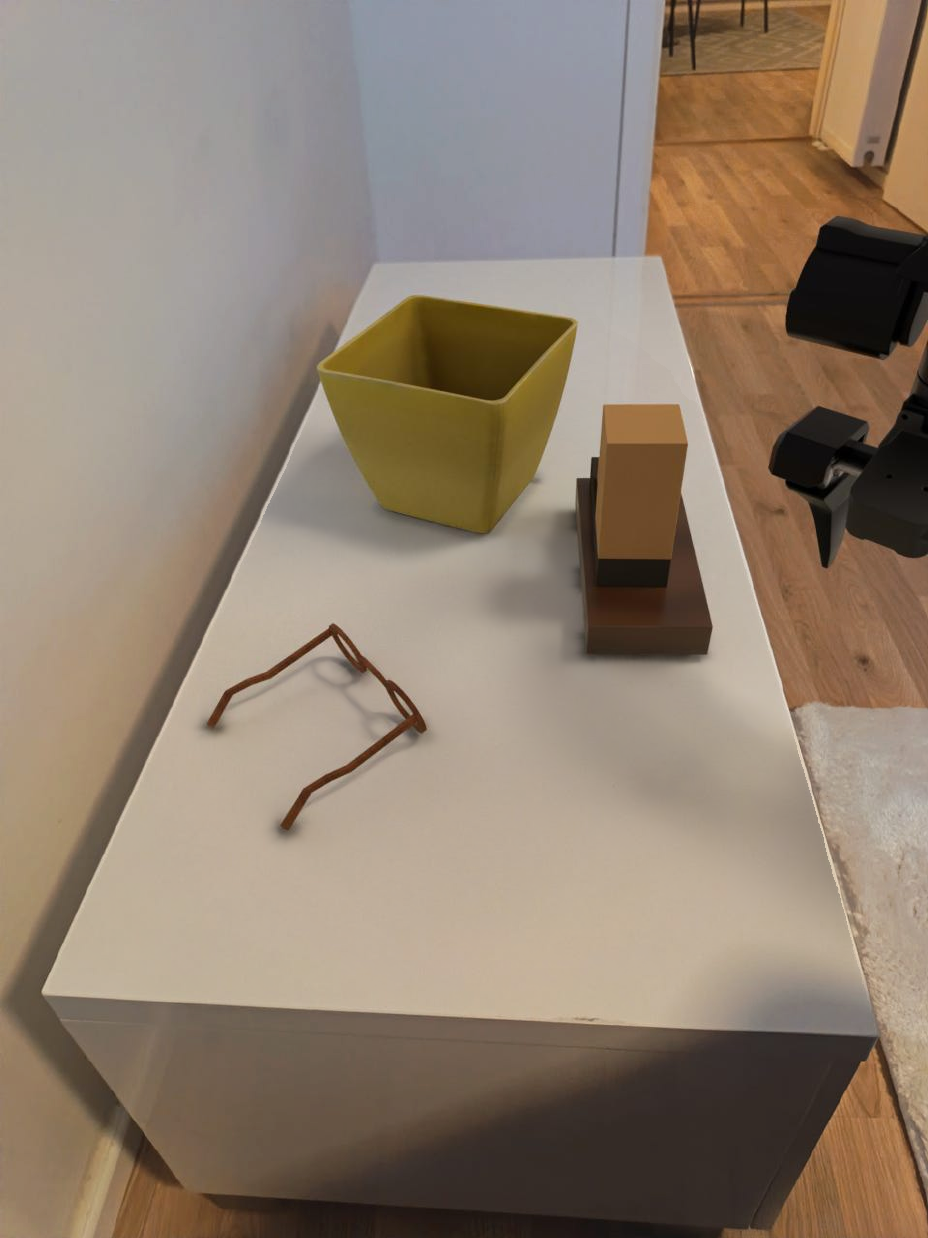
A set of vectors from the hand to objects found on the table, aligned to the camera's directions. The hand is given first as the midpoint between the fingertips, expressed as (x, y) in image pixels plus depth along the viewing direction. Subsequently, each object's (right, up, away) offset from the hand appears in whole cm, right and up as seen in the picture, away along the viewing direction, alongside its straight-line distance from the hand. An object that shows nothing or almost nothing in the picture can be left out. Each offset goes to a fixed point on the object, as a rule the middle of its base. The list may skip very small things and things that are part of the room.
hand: (892, 592), depth 59 cm
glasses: (-41, -11, +10) cm, 43 cm away
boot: (-14, +6, +21) cm, 26 cm away
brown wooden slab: (-13, +2, +22) cm, 26 cm away
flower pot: (-29, +12, +35) cm, 47 cm away
